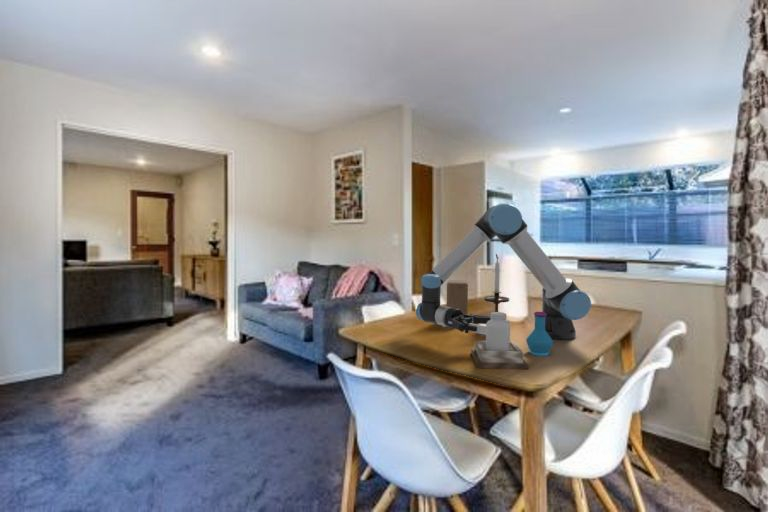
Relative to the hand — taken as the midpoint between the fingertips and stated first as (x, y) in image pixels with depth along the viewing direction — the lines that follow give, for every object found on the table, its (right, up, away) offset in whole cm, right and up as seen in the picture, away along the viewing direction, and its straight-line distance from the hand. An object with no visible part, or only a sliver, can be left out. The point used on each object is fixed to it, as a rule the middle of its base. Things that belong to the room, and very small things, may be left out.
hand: (497, 327), depth 135 cm
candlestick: (+12, -9, +44) cm, 47 cm away
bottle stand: (0, -12, +1) cm, 12 cm away
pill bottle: (0, -10, +1) cm, 10 cm away
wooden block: (-3, -8, +59) cm, 60 cm away
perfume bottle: (+18, -11, +9) cm, 23 cm away
